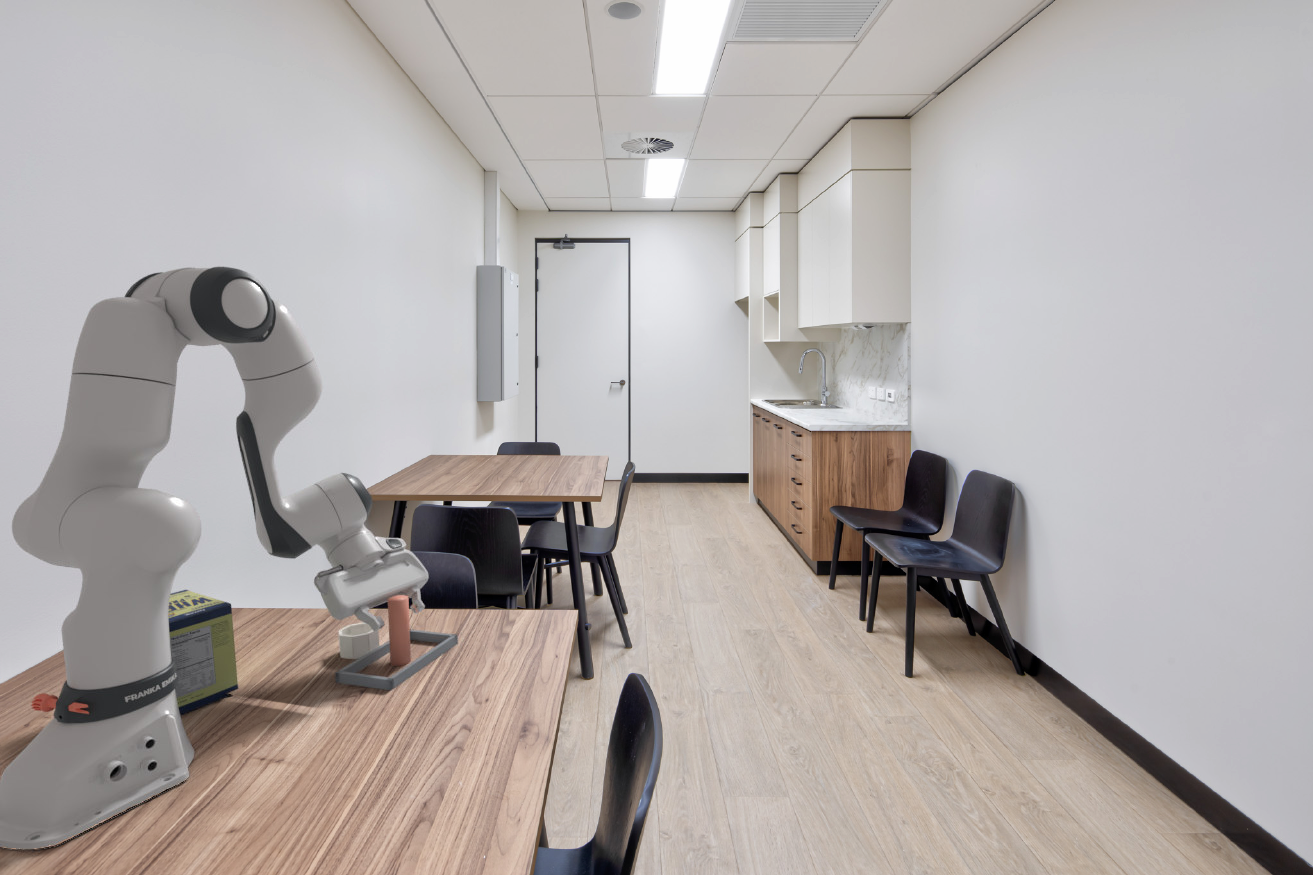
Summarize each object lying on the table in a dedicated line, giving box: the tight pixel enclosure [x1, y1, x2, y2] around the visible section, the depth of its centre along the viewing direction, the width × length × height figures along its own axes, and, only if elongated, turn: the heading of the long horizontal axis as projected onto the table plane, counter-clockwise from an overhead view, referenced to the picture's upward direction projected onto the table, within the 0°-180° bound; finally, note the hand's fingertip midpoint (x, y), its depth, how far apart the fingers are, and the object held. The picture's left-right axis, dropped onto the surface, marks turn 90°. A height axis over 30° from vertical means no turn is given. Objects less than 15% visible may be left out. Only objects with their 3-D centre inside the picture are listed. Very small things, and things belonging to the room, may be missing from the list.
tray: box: [334, 628, 459, 691], centre depth 126 cm, size 20×11×2 cm, turn 164°
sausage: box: [387, 595, 412, 667], centre depth 125 cm, size 4×4×12 cm
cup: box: [338, 622, 380, 660], centre depth 130 cm, size 7×7×5 cm
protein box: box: [168, 589, 239, 716], centre depth 115 cm, size 10×16×16 cm
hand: (400, 619), depth 125 cm, fingers open, 8 cm apart
